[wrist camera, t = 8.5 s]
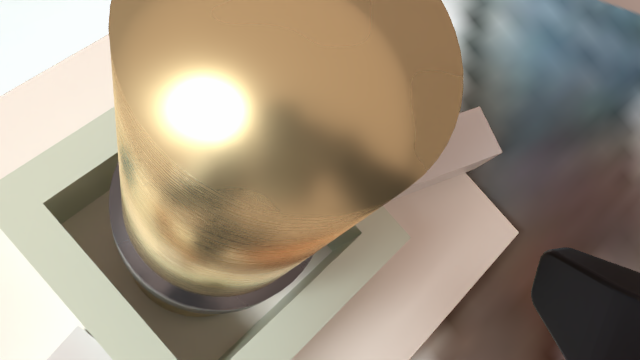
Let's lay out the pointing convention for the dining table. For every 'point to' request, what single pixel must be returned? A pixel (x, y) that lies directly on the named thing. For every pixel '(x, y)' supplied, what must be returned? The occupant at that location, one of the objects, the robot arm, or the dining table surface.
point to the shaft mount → (231, 328)
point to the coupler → (267, 134)
